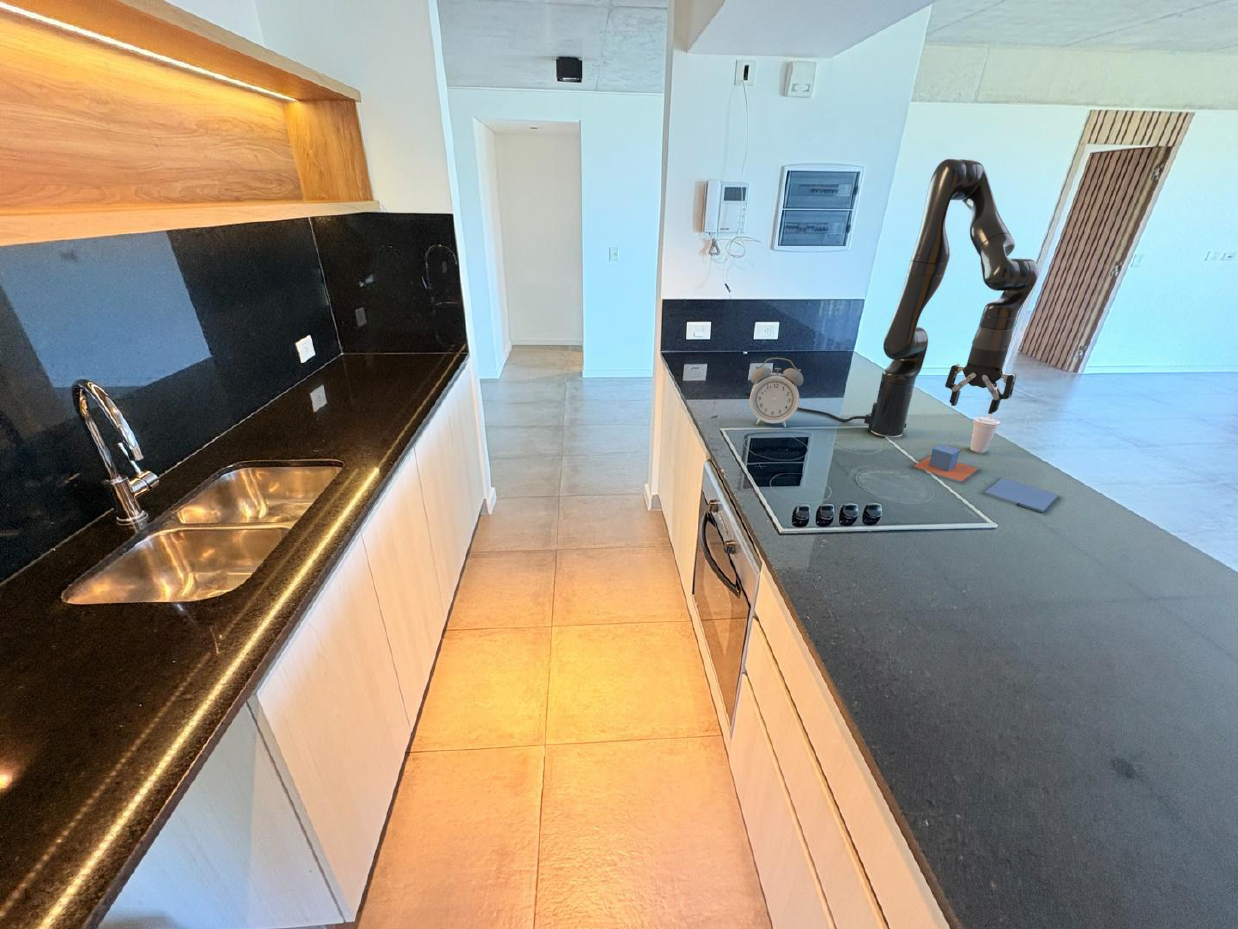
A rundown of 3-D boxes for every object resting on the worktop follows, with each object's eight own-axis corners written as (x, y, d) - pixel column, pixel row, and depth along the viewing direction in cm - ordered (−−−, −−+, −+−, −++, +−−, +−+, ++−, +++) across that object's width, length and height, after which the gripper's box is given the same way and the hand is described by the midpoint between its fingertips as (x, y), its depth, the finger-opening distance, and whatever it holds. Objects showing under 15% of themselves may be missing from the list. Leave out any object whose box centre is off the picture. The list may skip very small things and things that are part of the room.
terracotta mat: (912, 468, 144) (913, 466, 143) (931, 456, 150) (932, 454, 150) (960, 483, 135) (961, 481, 135) (978, 470, 142) (979, 468, 142)
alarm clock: (745, 425, 174) (752, 359, 165) (746, 416, 182) (753, 353, 172) (797, 429, 170) (807, 362, 161) (796, 421, 178) (805, 356, 168)
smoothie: (994, 456, 150) (1009, 410, 144) (969, 455, 151) (983, 408, 145) (985, 448, 156) (999, 402, 150) (961, 446, 157) (974, 401, 151)
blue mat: (983, 494, 130) (984, 491, 129) (1001, 480, 137) (1001, 478, 136) (1042, 512, 121) (1043, 510, 121) (1057, 497, 128) (1058, 494, 128)
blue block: (928, 465, 144) (932, 448, 141) (936, 460, 146) (940, 444, 144) (948, 471, 140) (952, 454, 138) (955, 466, 143) (960, 449, 141)
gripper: (1029, 348, 126) (1008, 413, 133) (964, 339, 136) (947, 399, 143) (1019, 353, 122) (998, 419, 128) (952, 343, 131) (936, 405, 138)
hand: (971, 409), depth 136 cm, fingers open, 8 cm apart
